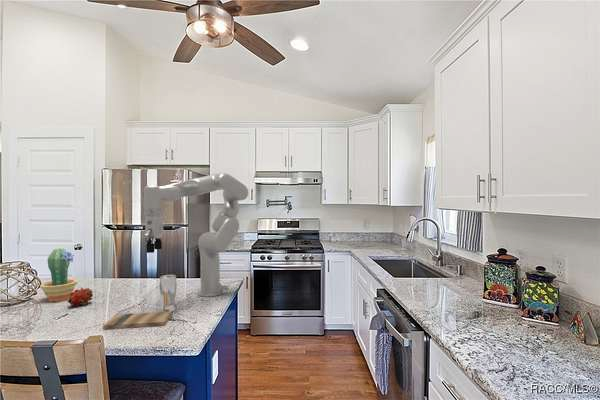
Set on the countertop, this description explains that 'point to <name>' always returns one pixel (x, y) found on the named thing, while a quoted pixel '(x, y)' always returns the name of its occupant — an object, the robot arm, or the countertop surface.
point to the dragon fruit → (80, 297)
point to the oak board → (138, 320)
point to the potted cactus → (59, 276)
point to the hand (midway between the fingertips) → (154, 250)
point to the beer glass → (168, 292)
